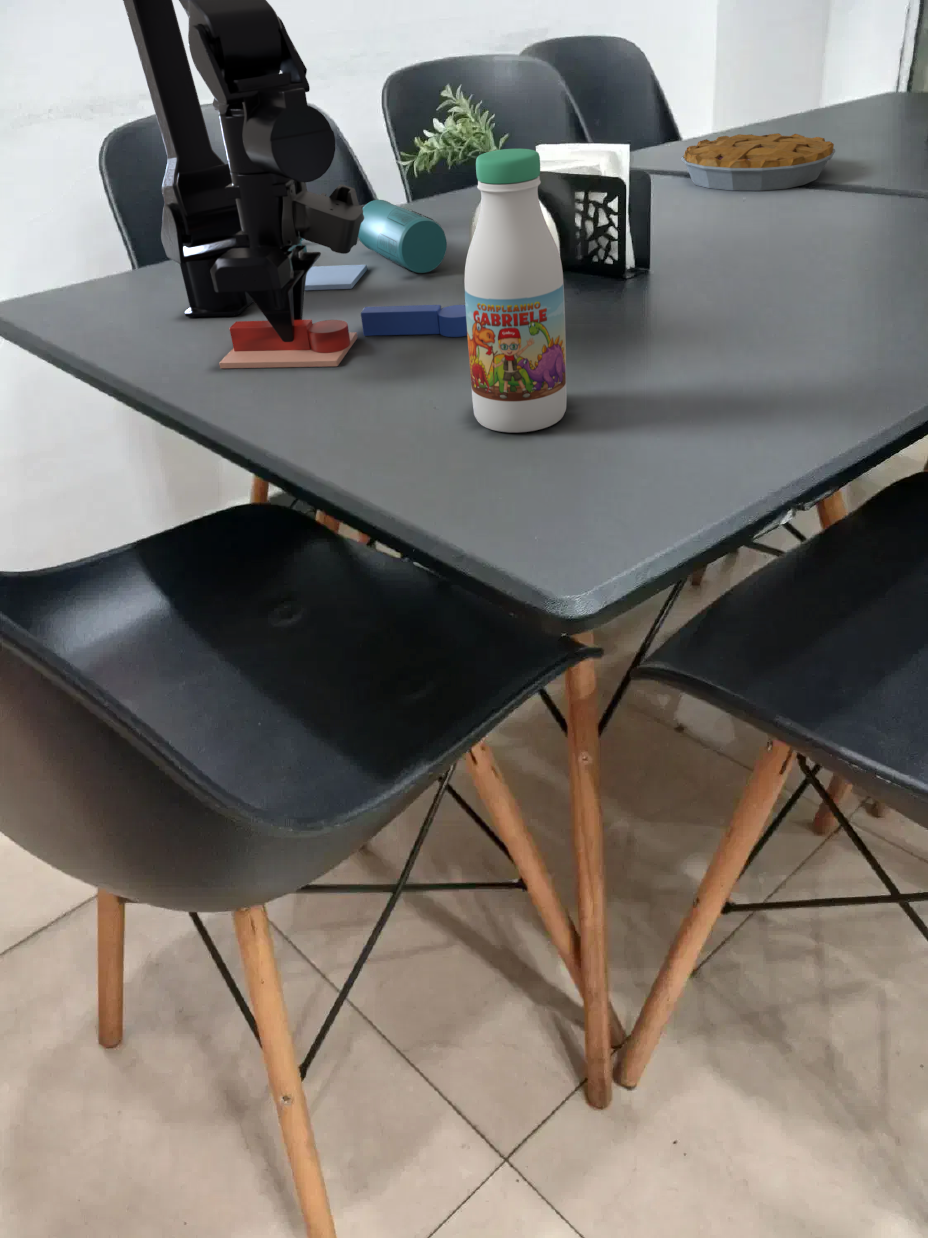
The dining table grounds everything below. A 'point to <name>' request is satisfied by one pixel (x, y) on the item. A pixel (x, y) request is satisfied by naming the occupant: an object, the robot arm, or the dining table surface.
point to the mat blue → (334, 277)
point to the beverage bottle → (402, 236)
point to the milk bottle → (514, 300)
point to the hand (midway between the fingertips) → (292, 337)
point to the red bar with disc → (306, 336)
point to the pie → (757, 161)
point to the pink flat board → (284, 358)
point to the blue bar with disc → (415, 320)
